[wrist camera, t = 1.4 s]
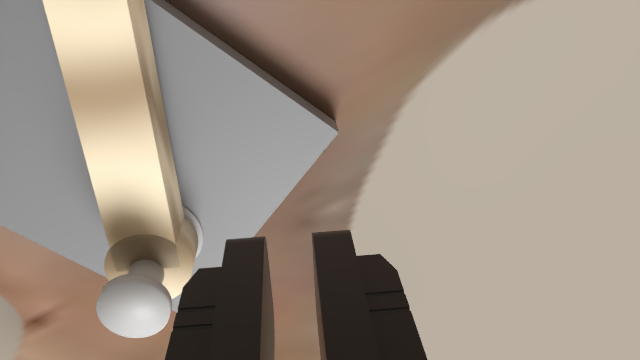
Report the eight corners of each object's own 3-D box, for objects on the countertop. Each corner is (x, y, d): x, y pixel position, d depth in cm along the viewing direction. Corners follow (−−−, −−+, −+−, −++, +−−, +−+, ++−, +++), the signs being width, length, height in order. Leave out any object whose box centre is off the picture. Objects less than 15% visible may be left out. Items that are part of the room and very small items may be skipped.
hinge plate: (-277, 63, 23) (-493, 120, 17) (-182, -246, 19) (-424, -330, 12) (190, 300, 31) (168, 402, 25) (335, 121, 27) (354, 188, 20)
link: (203, 269, 28) (197, 299, 26) (127, 274, 28) (114, 306, 26) (135, -119, 20) (117, -123, 18) (26, -114, 20) (-5, -118, 17)
